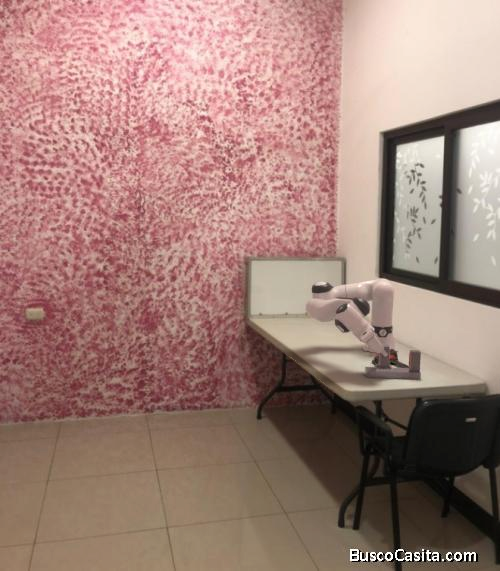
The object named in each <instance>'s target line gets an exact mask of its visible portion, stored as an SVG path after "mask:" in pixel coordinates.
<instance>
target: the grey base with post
mask: <svg viewBox="0 0 500 571" xmlns="http://www.w3.org/2000/svg"><path fill="white" fill-rule="evenodd" d="M421 355H422V352H421V351H420V350H416V349H410V350H409V354H408V366H409V368H403V367H393V365H392V364H389V366H380V365H377V364H373V366H365V367H364V374H365V376H366V378H367V379H368V378H370V379H398V380H401V379H402V380H421V377H422V374H421V357H422V356H421Z"/></svg>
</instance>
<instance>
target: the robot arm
mask: <svg viewBox="0 0 500 571" xmlns="http://www.w3.org/2000/svg"><path fill="white" fill-rule="evenodd" d="M311 294H312V296H311V297H312V298H311V299H309V300H308V301H307V302H306V304H305V311H306V314H308V315H309V316H310V317H311V318H312V319H314V320H316V321H318V322H320V323H328V322H331V321H334V325H335V327H336V328H337V329H338V330H339V331H340V332H341V333H343V334H345V333H346V334H347V333H350V332H351V333H352V335H353V336H354V337H355V338H356V339H357V340H358V341H359V342H362V343H363V344H364V345H363V348H362V350H363V351H366V352H370V353H374V354H377V353H378V354H379V353H382V354H383V355H384V356H385V357H386V356H387V355H388V354H387V352H386V351H385V350H384V347H383V346H382V345H389V347H390V350H391V349H395V350H396V352H399V349H398V348H397V347H396V336H395V335H394V334H393V331H394V326H393V310H394V299H395V298H394V295H395V289H394V287H393V284H392V282H391V281H390V280H389V279H387V278H378V279H371V280H367V281H362V282H355V283H349V284H347V283H346V284H341V285H336V286H334V285H332V284H330V283H329V282H327V281H318V282H315V283H314V284H313V285H312V286H311ZM369 302H371V305H370V303H369ZM370 306H371V307H370ZM370 313H371V321H370V322H371V323H370V322H369V321H368V320H366V319H365V318H366V317H367V316H368V315H369V314H370Z"/></svg>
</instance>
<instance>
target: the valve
mask: <svg viewBox="0 0 500 571" xmlns="http://www.w3.org/2000/svg"><path fill="white" fill-rule="evenodd" d="M371 363H372V364H373V365H379V354H378V353H376V354H375V356H374V358H373V359H372V361H371ZM390 364H391V365H397V366H398V367H399V368H409V364H408V365H407V364H405V363H403V362H402V361H399V356H398V351H396V350H395V349H391V350H390Z"/></svg>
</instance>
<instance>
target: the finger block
mask: <svg viewBox="0 0 500 571" xmlns="http://www.w3.org/2000/svg"><path fill="white" fill-rule="evenodd" d="M382 346H383V347H384V350H385V351H386V352H387V354H388V355H387V356H386V357H385V356H384V355H383V354H382V353H379V362H378V363H379V365H380V366H389V365H391V363H390V347H389V345H382Z"/></svg>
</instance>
